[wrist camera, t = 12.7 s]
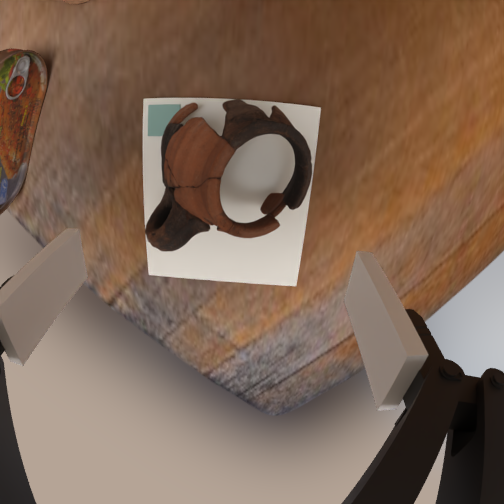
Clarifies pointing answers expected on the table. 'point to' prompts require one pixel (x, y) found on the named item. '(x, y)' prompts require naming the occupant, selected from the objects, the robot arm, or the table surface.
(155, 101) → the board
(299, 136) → the broken pottery vessel
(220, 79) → the table surface
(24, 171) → the tin
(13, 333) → the robot arm
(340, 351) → the table surface
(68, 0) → the beer glass
